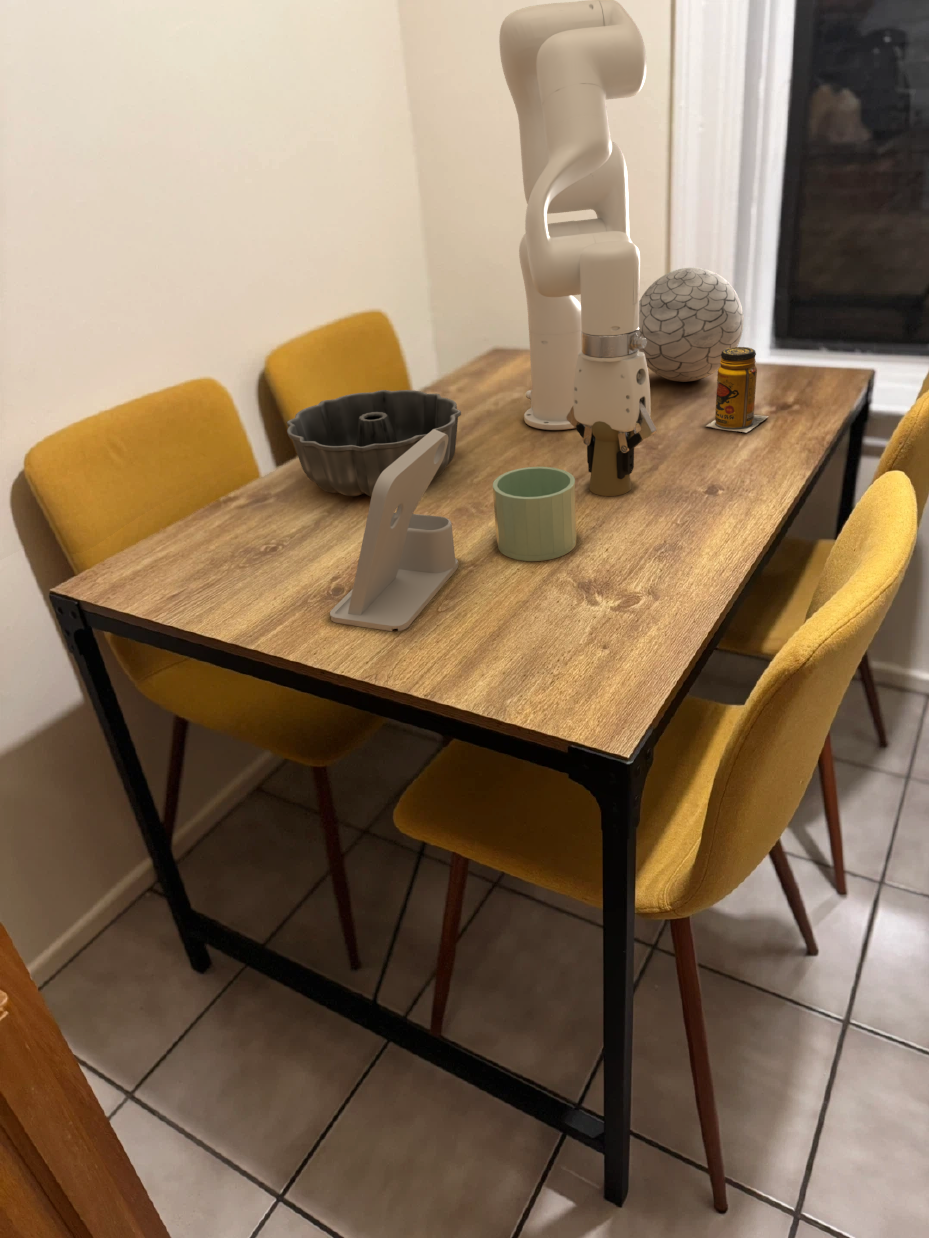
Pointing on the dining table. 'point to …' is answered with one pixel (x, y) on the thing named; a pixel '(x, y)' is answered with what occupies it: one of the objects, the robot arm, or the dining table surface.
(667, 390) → the dining table surface
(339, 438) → the bundt pan
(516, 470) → the cup
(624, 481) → the brown game pawn
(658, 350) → the decorative sphere
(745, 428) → the condiment
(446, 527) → the phone holder
